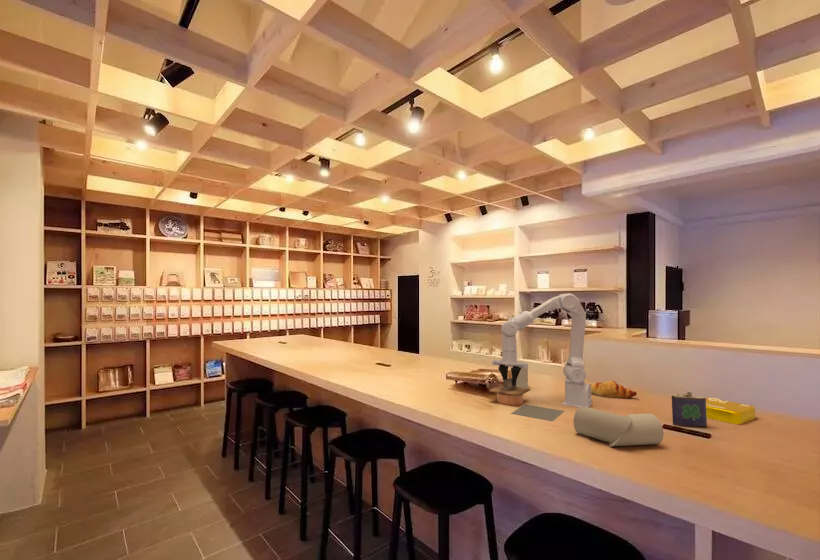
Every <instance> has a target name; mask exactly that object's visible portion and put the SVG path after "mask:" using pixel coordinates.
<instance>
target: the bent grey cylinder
mask: <svg viewBox="0 0 820 560" xmlns="http://www.w3.org/2000/svg"><path fill="white" fill-rule="evenodd" d="M575 410H576V411H575V413H574V416H573V427H574V430H575V432H576V433H577V434H579V435H583V436H586V437H590V438H591V439H592V438H593V439H596V440H598V441H602V442H605V443H608V444H609V445H608V446H609V447H610V448H611V447H612V448H613V447H631V446H647V445H651V446H652V445H659V444H661V443H662V442H663V440H664V437H665V435H664V428H663V424H662V422H661V421H660V420H659V418H658V417H657V416H656V415H655V414H653V413H633V414H632V413H630V414H627V415H625V416H624V415H621V414H617V413H611V412H608V411H603V410H599V409H595V408H591V407H589V408H587V407H583V406H581V407H577V409H575Z"/></svg>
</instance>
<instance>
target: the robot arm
mask: <svg viewBox="0 0 820 560" xmlns="http://www.w3.org/2000/svg"><path fill="white" fill-rule="evenodd" d="M554 309H555V310H557V309H559V310H560V309H561V310H562V311H564V312H566V313H567V314H568V315H569V316H570V318H571V326H570V337H569V348H568V349H569V350H568V357H567V358H566V362H565V363H566V364H565V365H564V366H563V370H562V371H563V374H564V376H565V378H564V402H562V403H561V405H564V406H568V407H576V408H579V407H581V406H583V407H587V408H591V406H592V405H593V403H592V401H593V399H592V394H591V385H590V383H587V382H585V380H586V377H587V374H586V370H585V363H584V360H583V359H584V358H583V357H584V342H585V333H586V332H585V331H586V321H587V312H586V311H585V309H584V307H583V305H582V303H581V299H580V298H578V297H577V296H576V295H575V294H573V293H569V292H568V293H560V294H558V295H557V296H554V297H552V298H550V299H548V300H547V301H544V302H543V303H542V304H540V305H538V306H536V307H535V308H533V309H531V311H528V310H524V311H522V310H521V311H519V312H518V313H519V314H517V315H515V316H514V317H510V318H509V320H507V321H504V322H503V323H502V324H501V327H500V331H501V332H502V334H501V337H502V338H501V339H502V340H501V355H502V356H501V357H502V359H492V360H491V366H498V367H497V368H498V371H499V373H500V375H501V377H502V381H503V380H505V379H508V378H509V377H508V376H509V375H508V373H509V367H510V374H511V373H512V385H513V386H514V385H516V381H517V377H518V374H519V372H520V370H521V368H524V369H527V368H529V363H528V362H524V361H523V362H524V363H523V362H522V361H518V360H517V359H518V356H517V354H518V353H517V333H518V332H519V331H522V330H523V329H525V328H526V327H528V326H530V325H532V324H534V320H535V319H536V318H537V317H539V316H542V315H543V314H545V313H547V312H549V311H551V310H554ZM511 367H513V368H511Z"/></svg>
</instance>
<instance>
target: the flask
mask: <svg viewBox="0 0 820 560" xmlns="http://www.w3.org/2000/svg"><path fill="white" fill-rule="evenodd" d="M706 398H707V397H705V396H700V395H699V396H697V395H696V396H695V395H693V392H692V391H691V390H686V393H684V394H683V393H681V394H679V393H676V394H673V395H671V409H672V410H671V414H672V415H671V416H672V425H673V426H676V427H682V428H684V427H685V428H702V429H704V428H708V427H707V426H708V421H707V419H708V418H707V415H706Z"/></svg>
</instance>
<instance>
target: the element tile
mask: <svg viewBox="0 0 820 560" xmlns="http://www.w3.org/2000/svg"><path fill="white" fill-rule="evenodd" d="M705 398H706V415H707V419H709V420H710V419H711V420H715V421H719V422H723V423H727V424H732V425H738V426H739V425H743V424H746V423H749V422H751V421H754V420H755V419H756V407H755V406H753V405H751V404H743V403H739V402H736V401H735V402H734V401H728V400H724V399H720V398H716V397H705Z"/></svg>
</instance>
